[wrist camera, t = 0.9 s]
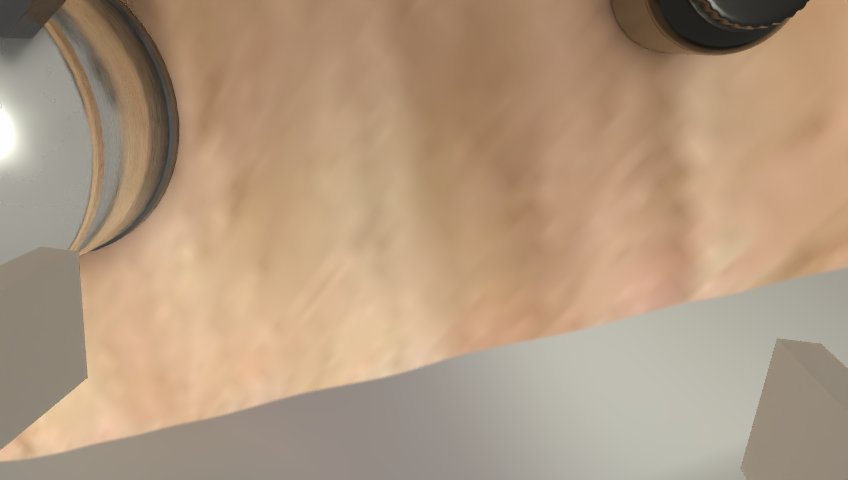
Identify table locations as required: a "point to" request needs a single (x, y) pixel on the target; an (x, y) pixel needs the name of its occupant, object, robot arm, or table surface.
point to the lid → (45, 134)
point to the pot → (124, 113)
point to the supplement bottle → (703, 23)
